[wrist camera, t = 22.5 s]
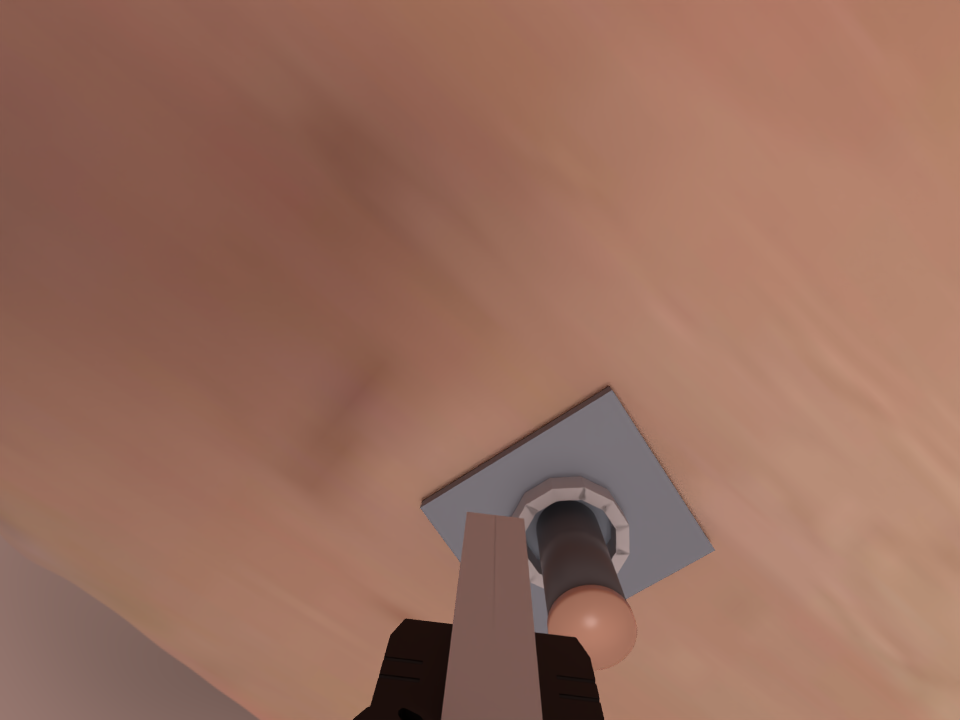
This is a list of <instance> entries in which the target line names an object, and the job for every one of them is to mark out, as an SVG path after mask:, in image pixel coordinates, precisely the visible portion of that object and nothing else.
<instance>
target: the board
mask: <svg viewBox="0 0 960 720" xmlns="http://www.w3.org/2000/svg"><path fill="white" fill-rule="evenodd" d="M567 500H573V501H577V502H580V503H583V504H584V505H586V506H587V507H589V508H590V509H591V510H592V512H593V513H594V514H595V516H596V518H597V521H598V524H599V527H600V529H601V532H602V535H603V538H604V540H605V543H606V546H607V549H608V551H609V554H610V557H611V560H612V562H613V565H614V568H615V571H616V573H617V576H618V579H619V582H620V584H621V587H622V590H623V593H624V595H625V598H626V599H627V598H629V597H631V596H633V595H634V594H636V593H638V592H640V591H642V590H643V589H645V588H647V587H649V586H651V585H653V584H654V583H656V582H658V581H660V580H662V579H664V578H665V577H667V576H669V575H671V574H673V573H675V572H676V571H678V570H680V569H682V568H684V567H685V566H687V565H689V564H691V563H693V562H695V561H696V560H698V559H700V558H702V557H704V556H706V555H707V554H709V553H711V552H713V551H715V549H714V548H713V546H712V545H711V543H710V542H709V540H708V539H707V537H706V535H705V534H704V532H703V531H702V529H701V528H700V526H699V525H698V523H697V521H696V520H695V518H694V517H693V515H692V514H691V512H690V511H689V509H688V507H687V506H686V504H685V503H684V501H683V500H682V498H681V497H680V495H679V493H678V492H677V490H676V489H675V487H674V486H673V484H672V482H671V481H670V479H669V478H668V476H667V475H666V473H665V472H664V470H663V468H662V467H661V465H660V464H659V462H658V461H657V459H656V458H655V456H654V454H653V453H652V451H651V450H650V448H649V447H648V445H647V444H646V442H645V440H644V439H643V437H642V436H641V434H640V433H639V431H638V430H637V428H636V426H635V425H634V423H633V422H632V420H631V419H630V417H629V415H628V414H627V412H626V411H625V409H624V408H623V406H622V405H621V403H620V401H619V400H618V398H617V397H616V395H615V394H614V392H613V391H612V389H611V388H610V387H609V386H608V387H607V388H605V389H604V390H602V391H600V392H599V393H597V394H595V395H594V396H592V397H591V398H589V399H587V400H586V401H584V402H582V403H581V404H579V405H578V406H576V407H574V408H573V409H571V410H569V411H568V412H566V413H565V414H563V415H561V416H560V417H558V418H556V419H555V420H553V421H552V422H550V423H548V424H547V425H545V426H543V427H542V428H540V429H539V430H537V431H535V432H534V433H532V434H530V435H529V436H527V437H526V438H524V439H522V440H521V441H519V442H517V443H516V444H514V445H513V446H511V447H509V448H508V449H506V450H504V451H503V452H501V453H500V454H498V455H496V456H495V457H493V458H491V459H490V460H488V461H487V462H485V463H483V464H482V465H480V466H478V467H477V468H475V469H474V470H472V471H470V472H469V473H467V474H465V475H464V476H462V477H461V478H459V479H457V480H456V481H454V482H453V483H451V484H449V485H448V486H446V487H444V488H443V489H441V490H440V491H438V492H436V493H435V494H433V495H431V496H430V497H428V498H427V499H425V500H423V501H422V504H421V507H420V508H421V510H422V511H423V512H424V514H425V515H426V516H427V518H428V519H429V521H430V522H431V523H432V525H433V526H434V527H435V529H436V530H437V531H438V533H439V534H440V535H441V537H442V538H443V540H444V541H445V542H446V544H447V545H448V546H449V548H450V549H451V550H452V552H453V553H454V554H455V556H456V557H457V558H458V560H459V561H460V563H461V555H462V547H463V539H464V531H465V523H466V515H467V512H473V513H482V514H490V515H499V516H507V517H516V518H524V522H525V533H526V544H527V555H528V566H529V577H530V588H531V599H532V609H533V620H534V631H535V632H537V633H545V634H548V627H547V619H548V615H547V607H546V600H545V592H544V585H543V577H542V569H541V562H540V554H539V547H538V539H537V532H536V526H537V521H538V518H539V516H540V514H541V513H542V512H543V511H544V509H546V508H547V507H548V506H549V505H551V504H553V503H555V502H558V501H567Z"/></svg>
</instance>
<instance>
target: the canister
mask: <svg viewBox="0 0 960 720" xmlns="http://www.w3.org/2000/svg"><path fill="white" fill-rule="evenodd" d="M536 532H537V539H538V547H539V554H540V562H541V569H542V577H543V585H544V592H545V600H546V607H547V615H548V619H547V627H548V634H553V635H562V636H570V637H576V638H577V639H578V641H579V642H580V643H581V645H582V646H583V648H584V649H585V651H586V652H587V653H588V655H589V656H590V658H591V663H592V667H593V670H602V669H606V668H609V667H612V666H614V665H616V664H618V663H619V662H621V661H622V660H623V659H624V658H625V657H626V656H627V655H628V654H629V653H630V652H631V650H632V648H633V647H634V644H635V642H636V638H637V625H636V621H635V618H634V615H633V613H632V610H631V608H630V606H629V604H628V602H627V601H626V598H625V595H624V593H623V590H622V587H621V584H620V582H619V579H618V576H617V573H616V571H615V568H614V565H613V562H612V560H611V557H610V554H609V551H608V549H607V546H606V543H605V540H604V538H603V535H602V532H601V529H600V527H599V524H598V521H597V518H596V516H595V514H594V513H593V512H592V510H591V509H590V508H589V507H587V506H586V505H584V504H583V503H580V502H577V501H573V500H567V501H558V502H555V503H553V504H551V505H549V506H548V507H547V508H546V509H544V511H543V512H542V513H541V514H540V516H539V518H538V521H537V526H536Z"/></svg>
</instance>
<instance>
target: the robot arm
mask: <svg viewBox="0 0 960 720" xmlns="http://www.w3.org/2000/svg"><path fill="white" fill-rule="evenodd" d="M353 720H604V716H603V712H602V707H601V703H599V694H598V689H597V685H596V684H595V676H594V671H593V667H592V663H591V658H590V656H589V655H588V653H587V652H586V651H585V649H584V648H583V646H582V645H581V643H580V642H579V641H578V639H577V638H576V637H570V636H562V635H553V634H545V633H537V632H535V631H534V620H533V609H532V599H531V588H530V577H529V566H528V555H527V544H526V533H525V522H524V518H516V517H507V516H499V515H490V514H482V513H473V512H467V515H466V523H465V531H464V539H463V547H462V555H461V563H460V571H459V579H458V587H457V595H456V603H455V612H454V620H453V624H447V623H438V622H430V621H422V620H413V619H405V620H404V621H403V622H402V623H401V624H400V625H399V626H398V627H397V628H396V630H395V631H394V632H393V633H392V634H391V635H390V638H389V642H388V645H387V649H386V653H385V656H384V660H383V663H382V667H381V670H380V674H379V678H378V681H377V684H376V688H375V691H374V695H373V699H372V702H371V706H370V707H367V708H366V709H365V710H363V711H362V712H361V713H360V714H359V715H357V716H356V717H355V718H354V719H353Z"/></svg>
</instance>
